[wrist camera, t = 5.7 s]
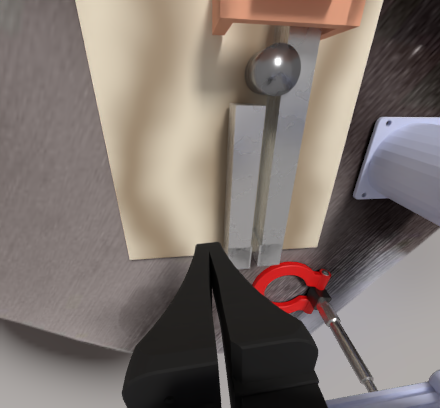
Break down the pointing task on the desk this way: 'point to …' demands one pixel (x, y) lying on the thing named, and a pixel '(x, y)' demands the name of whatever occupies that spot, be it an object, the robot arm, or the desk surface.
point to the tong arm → (242, 179)
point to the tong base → (280, 129)
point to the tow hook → (316, 301)
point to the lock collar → (289, 14)
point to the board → (204, 117)
